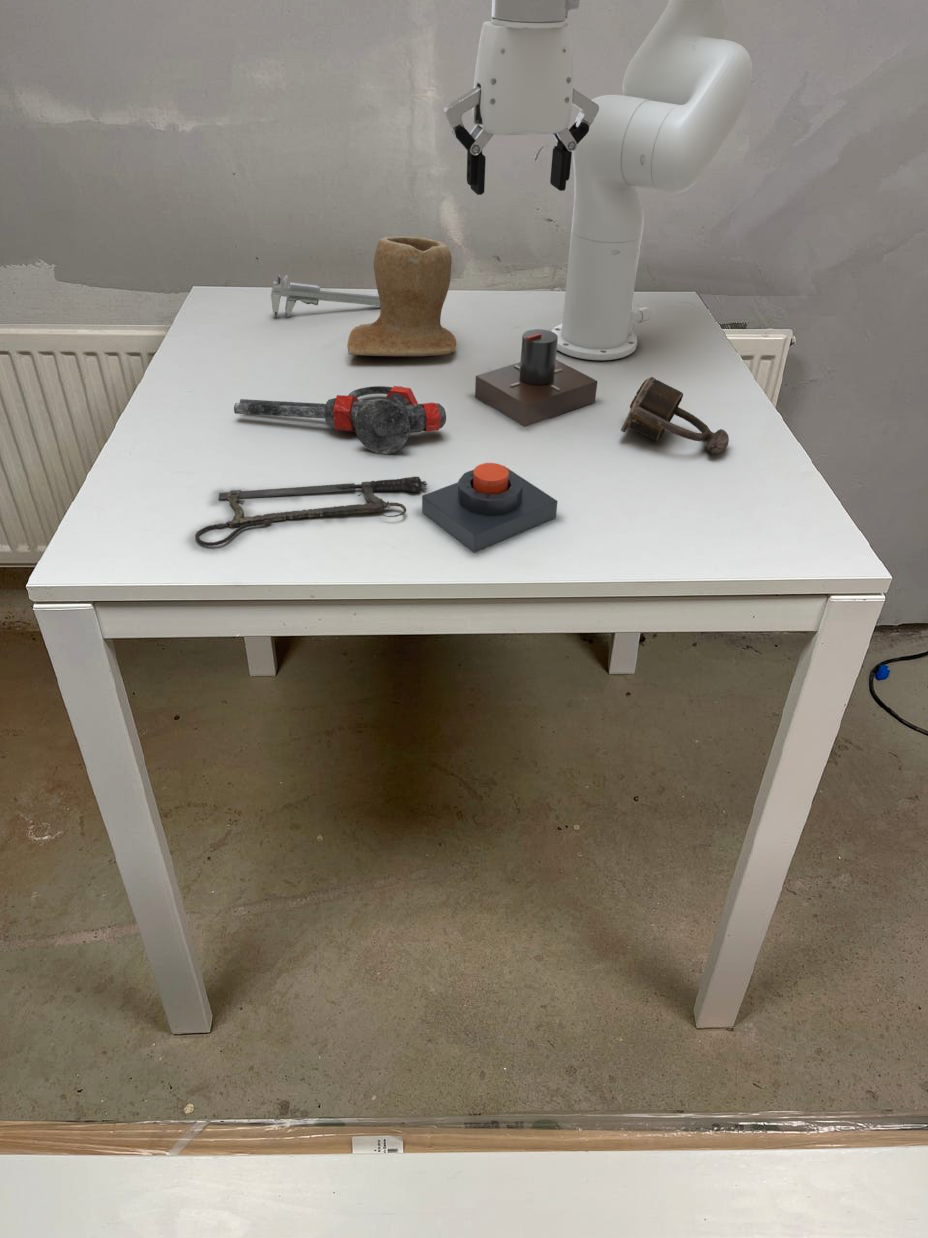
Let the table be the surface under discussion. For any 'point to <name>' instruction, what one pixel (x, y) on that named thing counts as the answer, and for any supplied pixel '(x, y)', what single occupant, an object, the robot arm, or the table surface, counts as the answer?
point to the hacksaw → (368, 487)
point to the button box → (488, 511)
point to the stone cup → (408, 300)
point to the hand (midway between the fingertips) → (517, 189)
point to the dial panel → (535, 393)
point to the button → (490, 478)
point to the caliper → (314, 295)
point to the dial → (538, 356)
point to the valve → (362, 415)
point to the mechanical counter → (667, 416)
